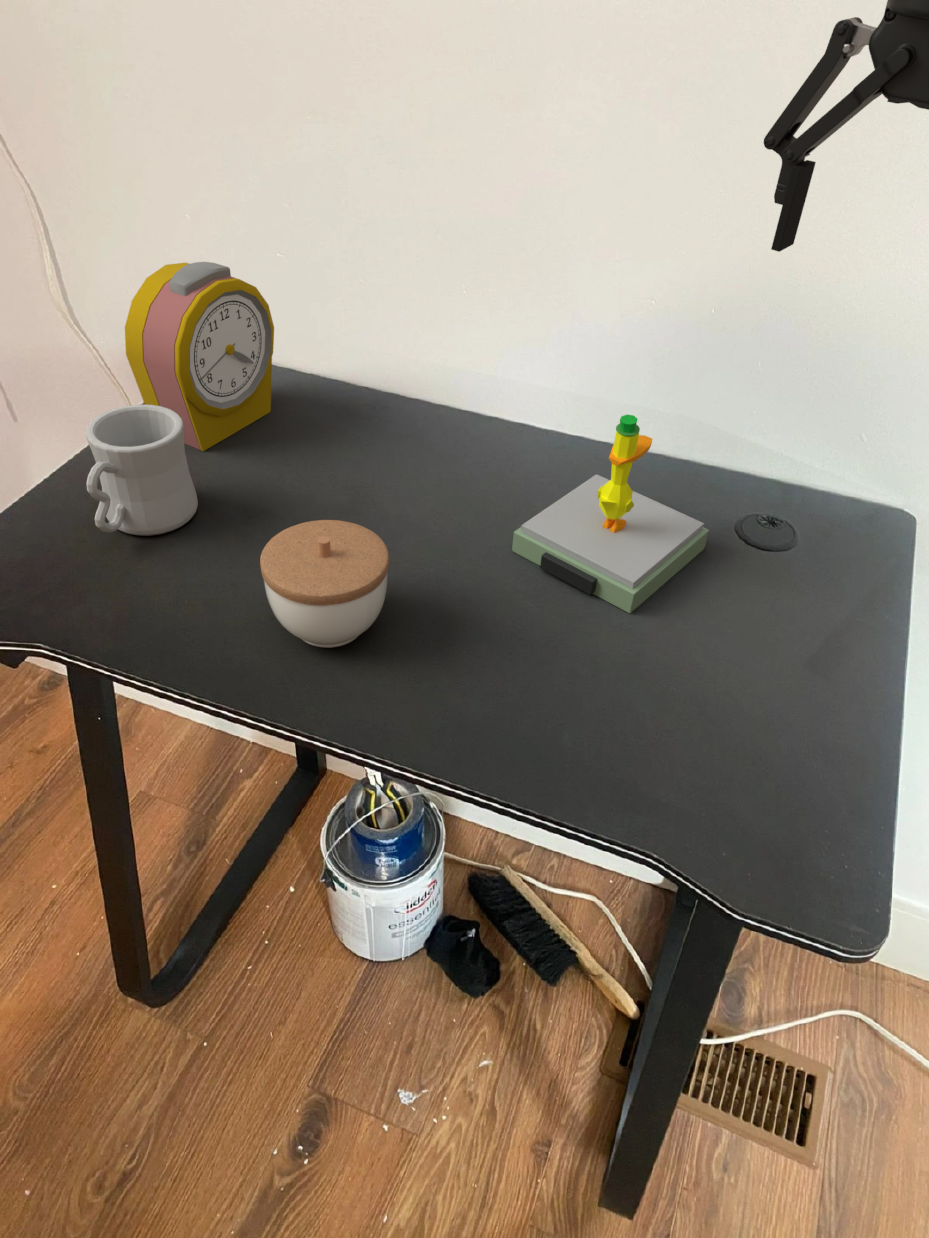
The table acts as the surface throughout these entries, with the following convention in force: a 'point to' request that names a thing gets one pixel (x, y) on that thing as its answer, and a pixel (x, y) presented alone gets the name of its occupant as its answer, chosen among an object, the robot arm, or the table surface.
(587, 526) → the kitchen scale
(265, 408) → the alarm clock
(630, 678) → the table surface
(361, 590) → the trinket box
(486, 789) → the table surface
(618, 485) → the toy figure
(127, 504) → the mug
